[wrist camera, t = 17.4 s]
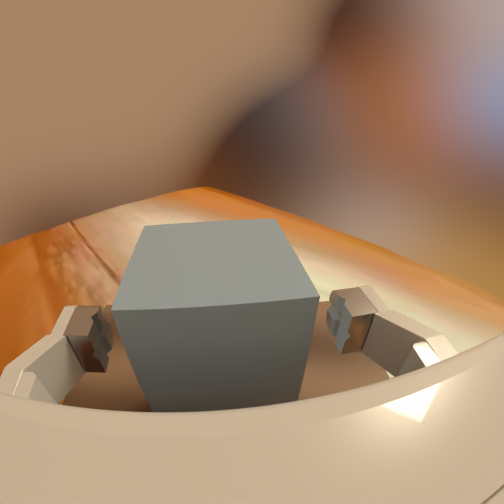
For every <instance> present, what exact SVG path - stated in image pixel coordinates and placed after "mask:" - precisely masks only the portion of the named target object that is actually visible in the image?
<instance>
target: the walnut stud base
mask: <svg viewBox="0 0 504 504" xmlns="http://www.w3.org/2000/svg"><path fill="white" fill-rule="evenodd" d="M331 305H332V304H331V302H330V301H326V302H319V304H318V309H317V315H316V320H315V325H314V330H313V335H312V340H311V345H310V350H309V354H308V359H307V364H306V368H305V373H304V377H303V381H302V385H301V390H300V394H299V398H298V401H299V400H304V399H310V398H315V397H320V396H325V395H329V394H334V393H338V392H343V391H347V390H351V389H355V388H359V387H363V386H366V385H370V384H374V383H377V382H381V381H384V380H387V379H389V377H388V374H387V372H386V370H385V369H384V368H382V367H381V366H380V365H378V364H377V363H376V362H374V361H373V360H372V359H370V358H369V357H367V356H366V355H365V354H363V353H362V351H359V352H353V353H347V354H342V355H341V354H340V352H339V350H338V348H337V346H336V344H335V338H336V337H335V336H334V335H332V334H330V332H329V330H328V327H327V323H326V314H327V309H328V308H329V307H330V306H331ZM112 306H113V305H106V307H105V312H106V314H107V316H106V319H105V321H107V322H108V323H109V324H110V325H111V328H112V332H113V346H112V350H111V351H109V352H108V353H107V355H108V357H109V362H108V366H107V370H106V373H98V372H85V374H84V376H83V377H82V378H81V379H80V380H79V381H78V382H77V384H76V385H75V386H74V387H73V388H72V389H71V391H70V392H69V393H68V394H67V395H66V398H65V400H64V403H63V405H66V406H74V407H82V408H91V409H101V410H113V411H130V412H152V410H151V408H150V406H149V404H148V402H147V399H146V397H145V395H144V393H143V391H142V389H141V387H140V384H139V382H138V380H137V378H136V375H135V373H134V371H133V368H132V366H131V363H130V361H129V359H128V356H127V354H126V351H125V348H124V346H123V343H122V341H121V338H120V335H119V333H118V330H117V327H116V324H115V321H114V318H113V316H112V313H111V308H112Z"/></svg>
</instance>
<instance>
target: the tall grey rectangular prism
mask: <svg viewBox="0 0 504 504" xmlns="http://www.w3.org/2000/svg"><path fill="white" fill-rule="evenodd" d="M319 298H320V296H319V294H318V292H317V290H316V289H315V287H314V285H313V283H312V281H311V280H310V278H309V276H308V274H307V273H306V271H305V269H304V267H303V266H302V264H301V262H300V260H299V259H298V257H297V255H296V253H295V252H294V250H293V248H292V247H291V245H290V243H289V241H288V240H287V238H286V236H285V235H284V233H283V231H282V229H281V228H280V226H279V224H278V223H277V221H276V219H275V218H274V219H251V220H230V221H212V222H196V223H180V224H166V225H152V226H144V228H143V231H142V233H141V235H140V237H139V240H138V242H137V244H136V247H135V249H134V251H133V254H132V256H131V259H130V261H129V264H128V266H127V269H126V271H125V274H124V276H123V279H122V281H121V284H120V287H119V289H118V292H117V295H116V297H115V300H114V303H113V306H112V308H111V313H112V316H113V318H114V321H115V324H116V327H117V330H118V333H119V335H120V338H121V341H122V343H123V346H124V348H125V351H126V354H127V356H128V359H129V361H130V363H131V366H132V368H133V371H134V373H135V375H136V378H137V380H138V382H139V384H140V387H141V389H142V391H143V393H144V395H145V397H146V399H147V402H148V404H149V406H150V408H151V410H152V412H201V411H218V410H230V409H241V408H250V407H259V406H267V405H274V404H281V403H287V402H293V401H298V398H299V394H300V390H301V385H302V381H303V377H304V373H305V368H306V364H307V359H308V354H309V350H310V345H311V340H312V335H313V330H314V325H315V320H316V315H317V309H318V304H319Z"/></svg>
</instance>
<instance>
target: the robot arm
mask: <svg viewBox="0 0 504 504" xmlns="http://www.w3.org/2000/svg"><path fill="white" fill-rule="evenodd" d="M329 300H330V302H331V304H332V305H331V306H330V307H329V308H328V309H327V314H326V323H327V327H328V330H329V332H330V334H332V335H334V336H335V337H336V338H335V344H336V346H337V348H338V350H339V352H340V354H341V355H342V354H347V353H353V352H359V351H362V353H363V354H365V355H366V356H367V357H369V358H370V359H372V360H373V361H374V362H376V363H377V364H378V365H380V366H381V367H382V368H384V369H385V370H386V371H388V372H389V373H391V374H392V375H393V376H395V377H394V378H391V379H387V380H384V381H381V382H377V383H374V384H370V385H366V386H363V387H359V388H355V389H351V390H347V391H343V392H338V393H334V394H329V395H325V396H320V397H315V398H310V399H304V400H299V401H293V402H287V403H281V404H274V405H267V406H259V407H250V408H241V409H230V410H218V411H201V412H130V411H113V410H101V409H91V408H82V407H74V406H66V405H60V404H59V403H60V402H61V401H62V400H63V399H64V398H65V396H66V395H67V394H68V393H69V392H70V391H71V389H72V388H73V387H74V386H75V385H76V384H77V382H78V381H79V380H80V379H81V378H82V377H83V376H84V374H85V372H98V373H106V370H107V366H108V362H109V357H108V355H107V353H108V352H109V351H111V350H112V346H113V332H112V328H111V325H110V324H109V323H108V322H107V321H105V319H106V316H107V314H106V312H105V309H104V307H102V306H66V307H64V309H63V311H62V312H61V314H60V316H59V318H58V320H57V322H56V324H55V326H54V328H53V330H52V332H51V335H46V336H45V337H43V338H42V339H41V340H39V341H38V342H37V343H35V344H34V345H33V346H31V347H30V348H29V349H28V350H26V351H25V352H24V353H22V354H21V355H20V356H18V357H17V358H16V359H15V360H13V361H12V362H11V363H10V364H8V365H7V366H6V367H5V369H4V371H3V373H2V375H1V377H0V504H504V332H503V333H502V334H500V335H498V336H496V337H494V338H492V339H490V340H488V341H486V342H484V343H481V344H479V345H477V346H475V347H473V348H471V349H468V350H466V351H464V352H461V353H459V354H458V353H457V351H456V350H455V349H454V348H453V346H452V345H451V344H450V343H449V341H448V340H447V339H446V337H445V336H444V335H443V334H442V333H440V332H438V331H436V330H433V329H431V328H429V327H427V326H425V325H423V324H421V323H419V322H417V321H415V320H413V319H411V318H409V317H407V316H405V315H403V314H401V313H398V312H396V311H394V310H391V311H390V310H389V308H388V307H387V306H386V305H385V303H384V302H383V301H382V299H381V298H380V297H379V296H378V294H377V293H376V292H375V291H374V289H373V288H372V287H371V286H369V285H367V286H360V287H357V288H349V289H341V290H333V291H332V292H331V294H330V299H329Z"/></svg>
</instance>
